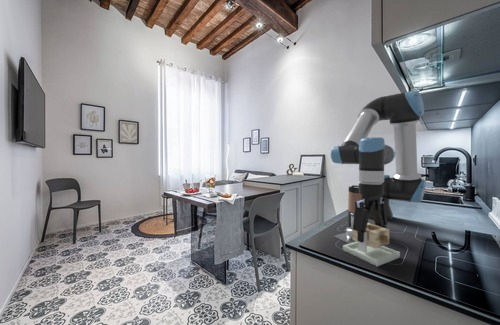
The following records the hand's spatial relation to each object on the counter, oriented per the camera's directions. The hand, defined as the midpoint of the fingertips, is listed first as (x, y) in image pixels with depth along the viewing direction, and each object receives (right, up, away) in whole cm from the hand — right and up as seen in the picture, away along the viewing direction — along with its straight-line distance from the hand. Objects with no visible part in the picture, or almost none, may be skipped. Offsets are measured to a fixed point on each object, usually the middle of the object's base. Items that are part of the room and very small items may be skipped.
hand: (370, 248), depth 72 cm
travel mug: (+8, -1, +24) cm, 25 cm away
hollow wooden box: (0, +2, 0) cm, 2 cm away
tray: (0, -2, 0) cm, 2 cm away
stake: (+1, -2, +13) cm, 13 cm away
